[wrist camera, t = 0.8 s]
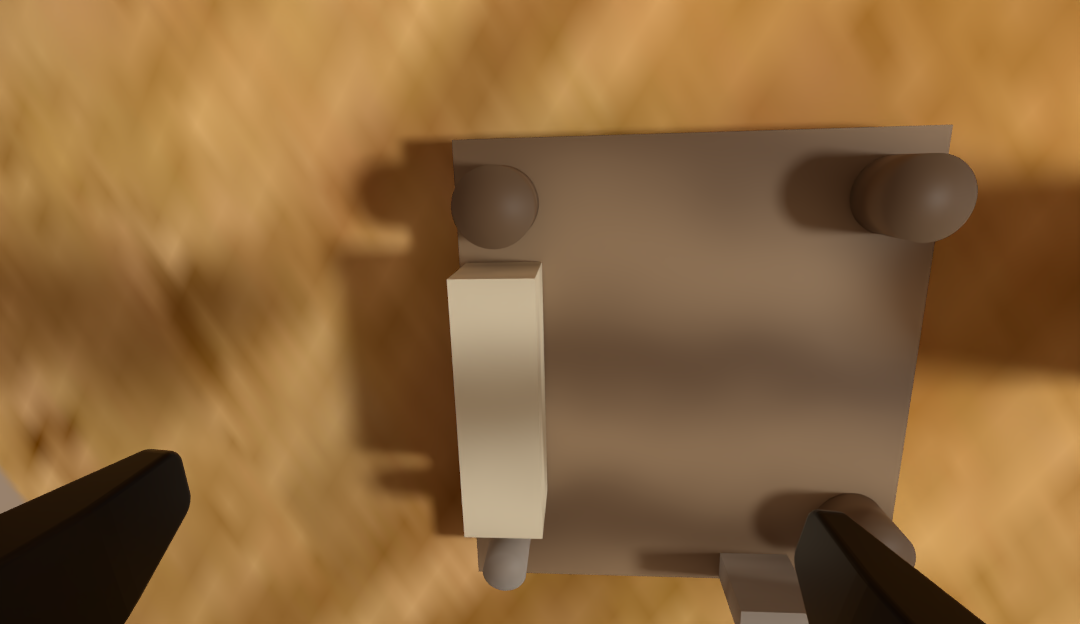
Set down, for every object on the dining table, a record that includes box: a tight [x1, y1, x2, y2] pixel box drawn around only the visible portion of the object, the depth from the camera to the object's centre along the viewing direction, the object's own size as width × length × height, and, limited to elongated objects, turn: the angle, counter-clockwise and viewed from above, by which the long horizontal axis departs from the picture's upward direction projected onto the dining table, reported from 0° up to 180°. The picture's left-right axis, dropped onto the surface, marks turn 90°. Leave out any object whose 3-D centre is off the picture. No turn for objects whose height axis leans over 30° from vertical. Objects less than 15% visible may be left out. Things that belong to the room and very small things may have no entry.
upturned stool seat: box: [451, 125, 978, 624], centre depth 18 cm, size 16×15×5 cm
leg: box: [447, 262, 547, 539], centre depth 18 cm, size 8×2×3 cm, turn 1°
